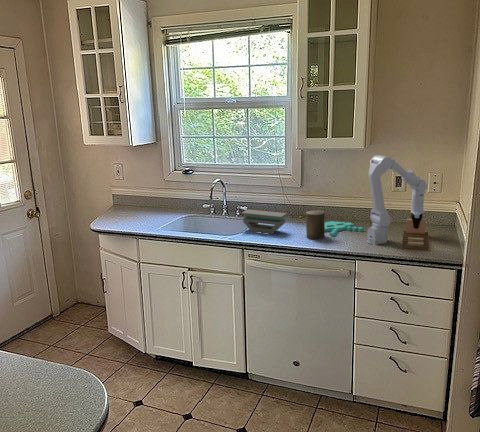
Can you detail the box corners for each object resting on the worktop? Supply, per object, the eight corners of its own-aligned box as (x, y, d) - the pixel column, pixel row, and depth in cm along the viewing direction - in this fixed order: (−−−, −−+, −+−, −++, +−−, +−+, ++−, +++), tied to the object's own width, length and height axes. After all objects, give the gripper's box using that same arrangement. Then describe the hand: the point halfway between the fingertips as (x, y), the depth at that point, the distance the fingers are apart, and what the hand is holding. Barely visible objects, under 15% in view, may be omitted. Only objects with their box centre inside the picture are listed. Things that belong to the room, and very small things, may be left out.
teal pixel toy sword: (363, 231, 246) (342, 223, 264) (363, 228, 245) (342, 219, 263) (332, 237, 239) (313, 228, 257) (332, 233, 239) (313, 224, 257)
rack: (430, 252, 209) (430, 247, 208) (400, 250, 214) (400, 245, 213) (428, 236, 232) (429, 231, 231) (402, 234, 237) (402, 230, 236)
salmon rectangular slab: (424, 236, 229) (425, 220, 227) (406, 235, 232) (406, 219, 230) (424, 235, 230) (425, 219, 228) (406, 234, 234) (406, 219, 232)
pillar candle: (325, 239, 235) (325, 211, 231) (306, 239, 236) (306, 212, 232) (323, 234, 244) (323, 207, 241) (305, 234, 245) (305, 207, 241)
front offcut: (423, 249, 212) (423, 243, 211) (407, 248, 214) (407, 242, 214) (423, 248, 213) (423, 242, 213) (407, 246, 216) (407, 241, 215)
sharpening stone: (287, 231, 251) (287, 213, 248) (281, 235, 245) (281, 216, 242) (248, 227, 263) (247, 209, 260) (242, 230, 257) (241, 212, 254)
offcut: (423, 244, 218) (423, 239, 217) (407, 243, 220) (408, 238, 220) (423, 243, 219) (423, 238, 218) (407, 242, 222) (408, 237, 221)
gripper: (426, 206, 219) (424, 232, 222) (425, 199, 232) (424, 224, 235) (410, 205, 221) (409, 231, 225) (411, 198, 234) (409, 223, 238)
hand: (416, 227), depth 230 cm, fingers closed on salmon rectangular slab, 2 cm apart
